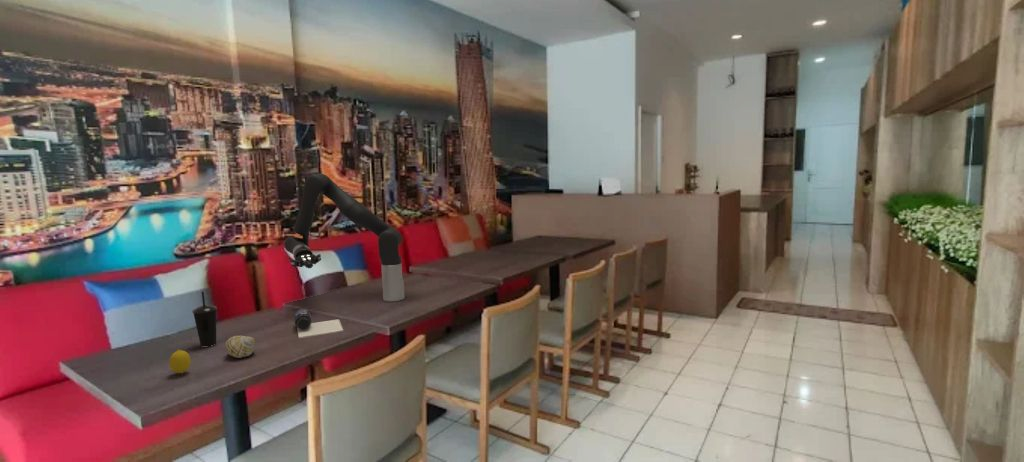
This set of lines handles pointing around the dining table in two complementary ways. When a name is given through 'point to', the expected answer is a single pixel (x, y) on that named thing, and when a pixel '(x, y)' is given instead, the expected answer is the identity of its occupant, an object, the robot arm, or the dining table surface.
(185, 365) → the lemon
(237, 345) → the yarn ball
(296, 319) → the pill bottle
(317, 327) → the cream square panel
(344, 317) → the dining table surface
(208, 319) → the drinking cup
